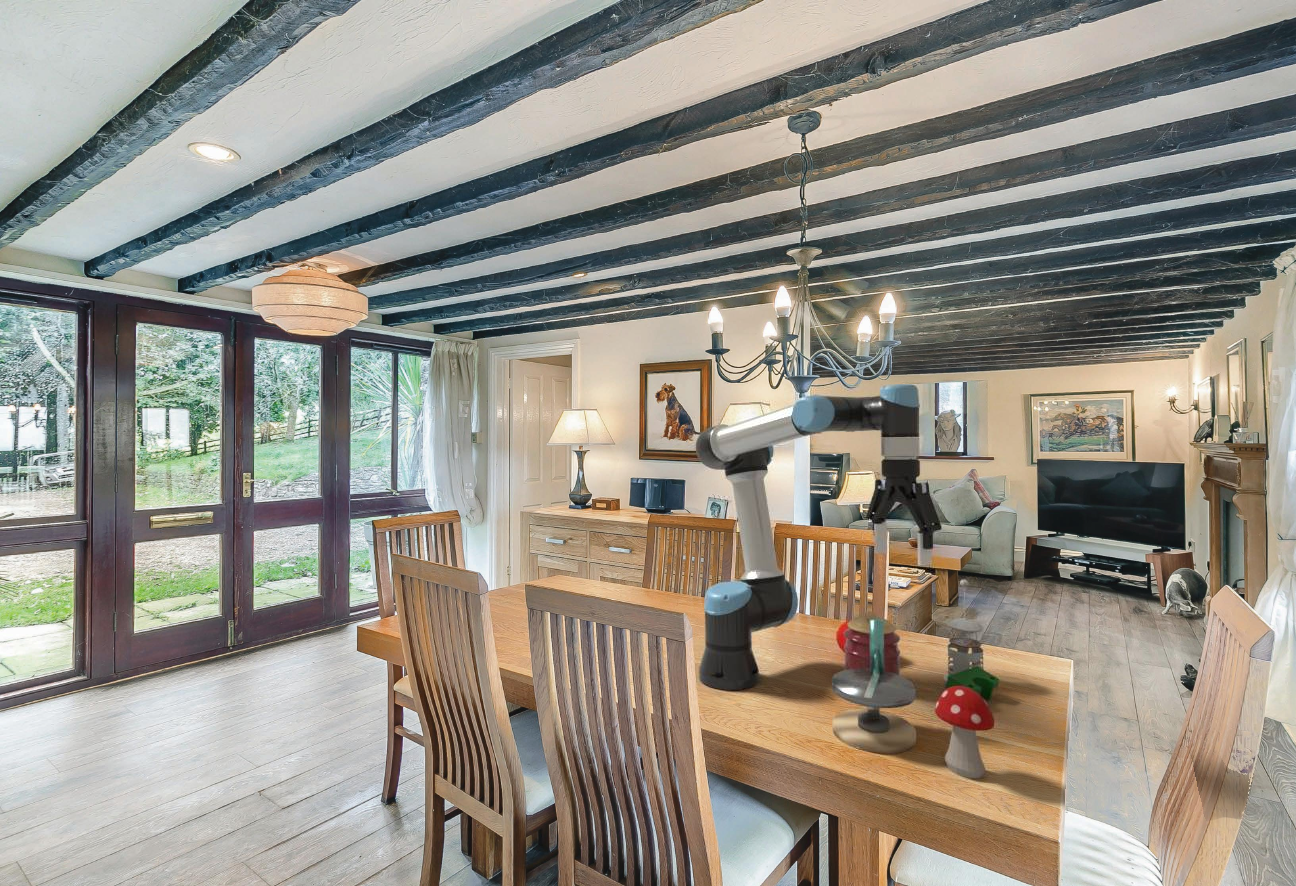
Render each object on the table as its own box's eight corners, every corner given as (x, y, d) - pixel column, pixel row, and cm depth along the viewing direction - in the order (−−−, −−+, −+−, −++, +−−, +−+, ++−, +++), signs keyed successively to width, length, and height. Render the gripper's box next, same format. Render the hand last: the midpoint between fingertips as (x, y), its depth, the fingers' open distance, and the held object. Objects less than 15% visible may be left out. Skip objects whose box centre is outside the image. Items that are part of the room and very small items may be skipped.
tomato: (885, 668, 160) (884, 628, 160) (835, 663, 164) (835, 624, 164) (883, 651, 173) (882, 613, 173) (837, 647, 177) (836, 610, 177)
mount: (817, 722, 131) (817, 707, 131) (881, 711, 135) (881, 697, 135) (864, 759, 116) (864, 743, 116) (934, 745, 120) (934, 730, 120)
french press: (938, 681, 151) (936, 580, 151) (952, 668, 160) (951, 572, 160) (982, 692, 145) (980, 586, 144) (995, 677, 153) (993, 577, 153)
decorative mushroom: (925, 765, 113) (923, 683, 113) (952, 751, 118) (951, 673, 118) (978, 790, 105) (977, 703, 105) (1005, 775, 109) (1004, 691, 109)
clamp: (969, 724, 138) (967, 695, 135) (945, 708, 143) (943, 679, 140) (1002, 695, 143) (1001, 666, 139) (977, 680, 148) (976, 652, 144)
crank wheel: (913, 743, 115) (911, 646, 115) (825, 726, 122) (824, 635, 122) (918, 708, 129) (917, 622, 129) (840, 694, 137) (839, 614, 137)
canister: (871, 697, 143) (870, 622, 142) (833, 678, 155) (832, 608, 154) (912, 688, 148) (911, 614, 148) (873, 669, 160) (872, 602, 160)
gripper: (960, 459, 119) (961, 568, 119) (877, 456, 143) (878, 547, 143) (928, 460, 117) (929, 571, 117) (849, 457, 141) (850, 549, 141)
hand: (901, 558), depth 130 cm, fingers open, 13 cm apart
